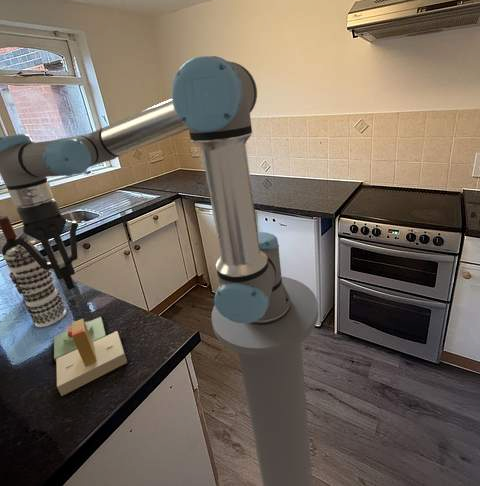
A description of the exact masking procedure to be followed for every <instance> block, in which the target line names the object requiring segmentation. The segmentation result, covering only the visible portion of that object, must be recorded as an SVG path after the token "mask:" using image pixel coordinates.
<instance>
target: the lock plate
mask: <svg viewBox="0 0 480 486" xmlns="http://www.w3.org/2000/svg"><path fill="white" fill-rule="evenodd" d="M93 344H94V346H95V353H96V359H97V361H96V362H94V363H92V364H89V365H87V366H85V365H84V363H83V360H82V358H81V356H80V354H79V351H78V349H77V350H74V351H72V352H70V353H68V354H66V355H63V356H61V357H59V358H57V359H56V361H55V362H56V388H57V390H58V392H59V394H60V396H61V397H63V396H65V395H67V394H69V393H71V392H73V391H75V390H77V389H79V388H80V387H83V386H85V385H87V384H89V383H91V382H93V381H94V380H96V379H98V378H100V377H102V376H104V375H106V374H108V373H110V372H113V371H114V370H115V369H117V368H120V367H122V366H123V365H126V364H128V360H127V357H126V353H125V350H124V347H123V344H122V340H121V337H120V334H119V332H118V330H116V331H114V332H112V333H110V334H107V335H106V336H105V337H103V338H101V339H99V340H97V341H94V342H93Z"/></svg>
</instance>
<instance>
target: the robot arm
mask: <svg viewBox="0 0 480 486" xmlns="http://www.w3.org/2000/svg"><path fill="white" fill-rule="evenodd" d="M171 83H172V84H171V90H170V92H171V94H170V96H171V98H170V99H168V100H166V101H163V102H161V103H159V104H157V105H154V106H152V107H149V108H147V109H145V110H142V111H140V112H138V113H135V114H133V115H130V116H128V117H126V118H123V119H121V120H119V121H116V122H113V123H112V124H109V125H107V126H104V127H102V128H99V129H98V130H97V129H96V130H95V131H92V132H88V133H85V134H80V135H74V136H69V137H64V138H58V139H53V140H45V141H38V142H34V140H33V139H32V138H31V136H30V135H29V134H28V133H17V134H9V135H1V136H0V177H1V178H2V180H3V183H4V185H5V187H6V189H7V191H8V194H9V196H10V198H11V201H12V203H13V205H14V206H16V207H17V209H16V212H17V214H18V216H19V218H20V220H21V223H22V225H23V227H22V232H21V233H20V234H19V235H16V236H17V237H16V239H15V243H17V244H19V245H20V246H22V247H24V248H25V249H26V250H27V251H28V253H29V254H30V255H31V256H32V257H33V258H34V259H35V260H36V262H37V263H38V264H39V265H40V266H41V267H42V268H43V269H44V270H47V269H49V270H53V271H54V274H55V276H56V278H57V279H58V280H62V279H63V281H64V283H65V286H66V288H67V290H68V291H70V290H73V289H75V288H76V285H75V281H74V279H73V277H72V276H74V275H75V274H76V271H75V268H74V265H73V262H74V261H76V260H77V261H78V245H77V230H78V228H79V223H78V221H77V220H68V219H66V217H65V216H63V215H62V213H61V210H60V207H59V204H58V203H57V201H56V199H55V198H54V196H55V195H54V193H53V190H52V187H51V185H50V183H49V180H48V177H61V176H62V177H64V176H66V177H71V176H73V175H80V174H83V173H86V172H87V170H88V168H90V167H93V166H95V165H99V164H102V163H106V162H110V161H112V160H115V159H116V158H118V157H120V156H123V155H125V154H128V153H132V152H135V151H137V150H139V149H142V148H144V147H147V146H151V145H153V144H155V143H158V142H160V141H163V140H166V139H168V138H171V137H173V136H176V135H178V134H182V133H184V132H187V131H188V133H189V138H190V142H192V143H193V144H194V145H195V146H197V147H198V148H199V149H200V151H201V156H202V161H203V166H204V172H205V178H206V183H207V188H208V189H207V190H208V193H209V199H210V204H211V205H210V206H211V209H212V215H213V220H214V227H215V231H216V236H217V242H218V247H219V252H220V257H219V258H218V259H217V261H216V263H215V270H216V275H217V281H218V288H217V289H216V290H215V294H214V300H213V301H214V305H215V306H216V308H217V310H218V311H219V313H220V314H221V315H223V316H224V317H226V318H228V319H229V320H231V321H233V322H237V323H251V324H256V325H266V324H271V323H274V322H277V321H279V320H281V319H282V318H283V317H285V316H286V315H287V313H288V312H289V310H290V298H289V295H288V293H287V291H286V289H285V287H284V285H283V283H282V277H283V276H282V269H281V258H280V249H279V248H280V244H279V240H278V238H277V236H276V235H275V234H273V233H270V232H266V231H258V226H257V220H256V211H255V210H256V209H255V203H254V197H253V196H254V195H253V188H252V182H251V173H250V167H249V166H250V165H249V158H248V152H247V150H248V149H247V142H248V140H249V139H250V138H251V137H252V135H253V128H252V119H251V113H252V112H253V110H254V108H255V106H256V103H257V99H258V88H257V83H256V81H255V78H254V77H253V75H252V74H251V72H250V71H249V70H248V69H247V68H246V67H244V66H243V65H242V64H240V63H237V62H234V61H230V60H229V61H228V60H226V59H225V58H222V57H219V56H215V55H210V56H208V55H206V56H204V55H203V56H197V57H193V58H191V59H189V60H187V61H186V62H184V63H183V65H181V67H180V68H179V69H178V70H177V72H176V74H175V75H174V77H173V80H172V82H171ZM65 227H66V228H67V229H66V230H68V231H69V240H70V255H69V253H68V251H67V248H66V246H65V243H64V241H63V239H62V236H61V235H62V233H63V231H64V228H65ZM30 237H31V238H33V239H35V240H37V241H39V242H40V243H41V246H42V247H43V249H44V252H45V254H46V256H47V258H48V260H49V261H48V260H47V259H45V258H46V257H45V256H44V255H43V254H42V253H41V252H40V251H38V250H39V249H38V250H37V249H36V248H35V246H36V245H34V244H33V243H32V242H31V241H30ZM50 239H53V240H54V242H55V245H56V246H57V249H58V251H59V254H60V257H61V259H62V261H63V262H62V263H59V261H58V259H57V257H56V254H55V251H54V249H53V247H52V244H51V242H50Z"/></svg>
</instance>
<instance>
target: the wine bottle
mask: <svg viewBox="0 0 480 486" xmlns="http://www.w3.org/2000/svg"><path fill="white" fill-rule="evenodd" d="M0 230H1V231H2V234H3V236H4V238H5V240H6V242H5V244H4V245H3V246H2V248H1V254H2V256H3V257H4V256H5V255H6V252H7V251H8V250H9V249H11V248H13V247H15V246H18V245H19V244H17V243H15V239H16V237H17V236H18V235H17V234H16V232H15V229H14V227H13V225H12V223H11V219H10V218H9V216H8V215H7V216H6V215H5V216H1V217H0ZM13 276H14V275H13ZM15 281H16V280H15ZM16 282H17V281H16ZM18 286H19V285H18Z"/></svg>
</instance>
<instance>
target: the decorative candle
mask: <svg viewBox="0 0 480 486" xmlns="http://www.w3.org/2000/svg"><path fill="white" fill-rule="evenodd" d="M34 246H35V248H36V249H37V250H38V251H39V246H38V245H34ZM39 252H40V251H39ZM44 258H45V259H46V257H44ZM2 259H3V260H5V263H6V264H7V268H8V269H9V272H10V273H9V275H8V276H9V278H10V279H11V282H12V283H13V285H15V286H14V287H15V288H16V291H17V292H18V294H19V295H21V296H22V297H23V299H24V303H25V304H26V305H25V308H26V310H27V312H28V314H29V317H30V318H31V321H32V323H33V324H34V325H35V327H36V328H43V327H48V326H51V325H53V324H55V323H57V322H59V321H60V320H62V319H63V318H64V317H65V315H67V309H66V306H65V305H64V303H65V302H64V301H63V300H62V297H61V296H60V295H61V293H59V291H58V290H57V288H56V287H55V285H54V278H53V277H52V272H51V271H50V269H47V270H44V269H43V268H42V267H41V266H40V265H39V264H38V263H37V262H36V260H35V259H34V258H33V257H32V256H31V255H30V254H29V253H28V251H27V250H26V249H25V248H24V247H22V246H20V245H18V246H15V247H13V248H11V249H9V250H8V251H7V252H6V255H5V256H3V257H2ZM46 260H47V259H46ZM13 275H14V276H13ZM15 280H16V281H17V282H16V281H15ZM18 285H19V286H18Z"/></svg>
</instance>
